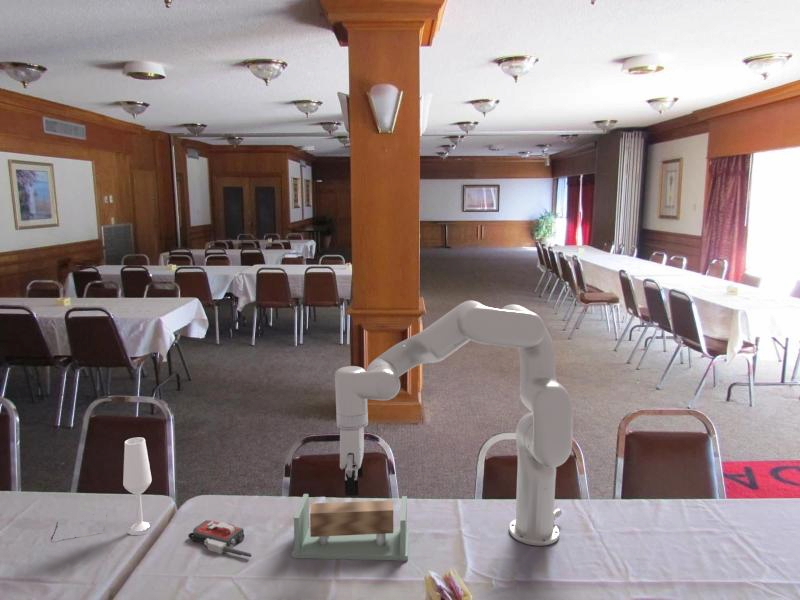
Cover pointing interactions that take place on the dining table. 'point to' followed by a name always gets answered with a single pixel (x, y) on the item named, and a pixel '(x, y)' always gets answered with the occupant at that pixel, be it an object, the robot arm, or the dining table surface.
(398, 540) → the shelf rack
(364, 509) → the wooden block
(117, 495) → the dining table surface
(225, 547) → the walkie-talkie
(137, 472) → the champagne flute
